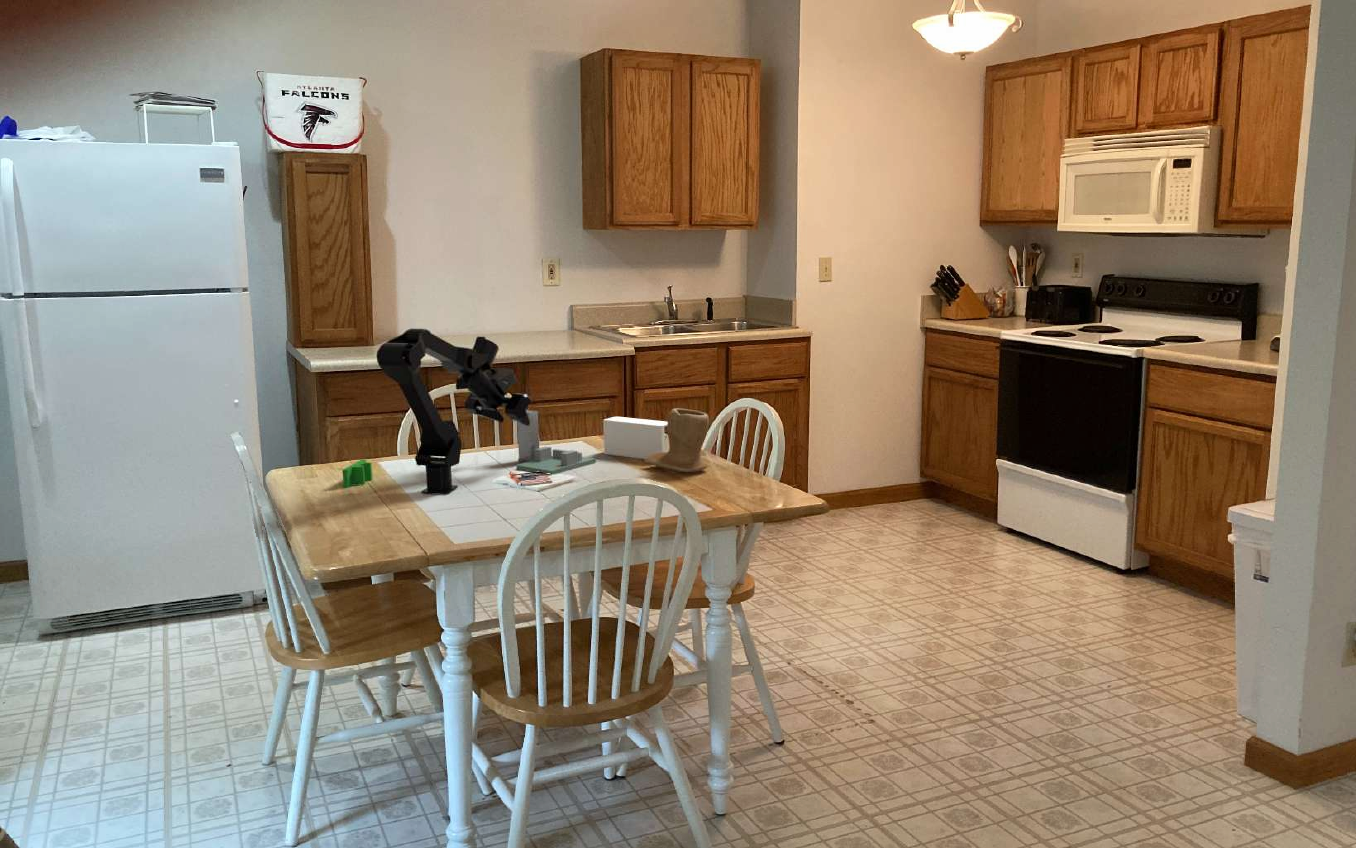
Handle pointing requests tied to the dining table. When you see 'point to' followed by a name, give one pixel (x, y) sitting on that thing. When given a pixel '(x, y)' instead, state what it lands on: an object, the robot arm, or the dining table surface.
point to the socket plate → (555, 461)
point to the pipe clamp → (357, 473)
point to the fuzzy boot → (683, 442)
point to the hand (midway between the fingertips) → (515, 422)
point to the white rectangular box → (634, 437)
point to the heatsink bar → (528, 438)
